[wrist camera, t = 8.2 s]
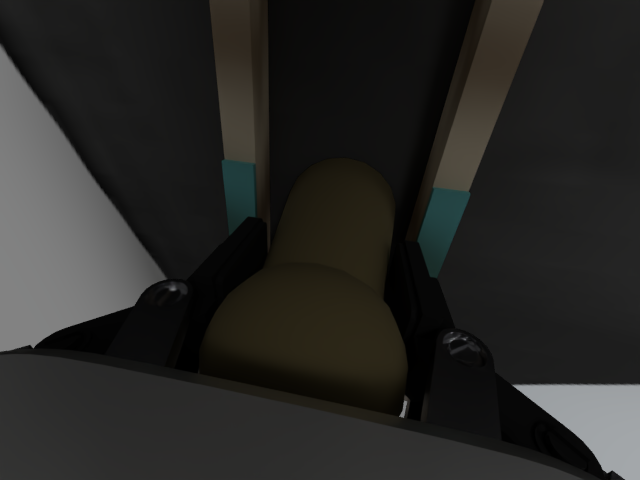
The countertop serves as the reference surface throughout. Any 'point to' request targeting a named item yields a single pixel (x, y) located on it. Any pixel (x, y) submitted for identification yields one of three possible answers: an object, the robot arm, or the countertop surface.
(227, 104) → the guide channel
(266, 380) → the dark brown rounded piece
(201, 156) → the countertop surface
